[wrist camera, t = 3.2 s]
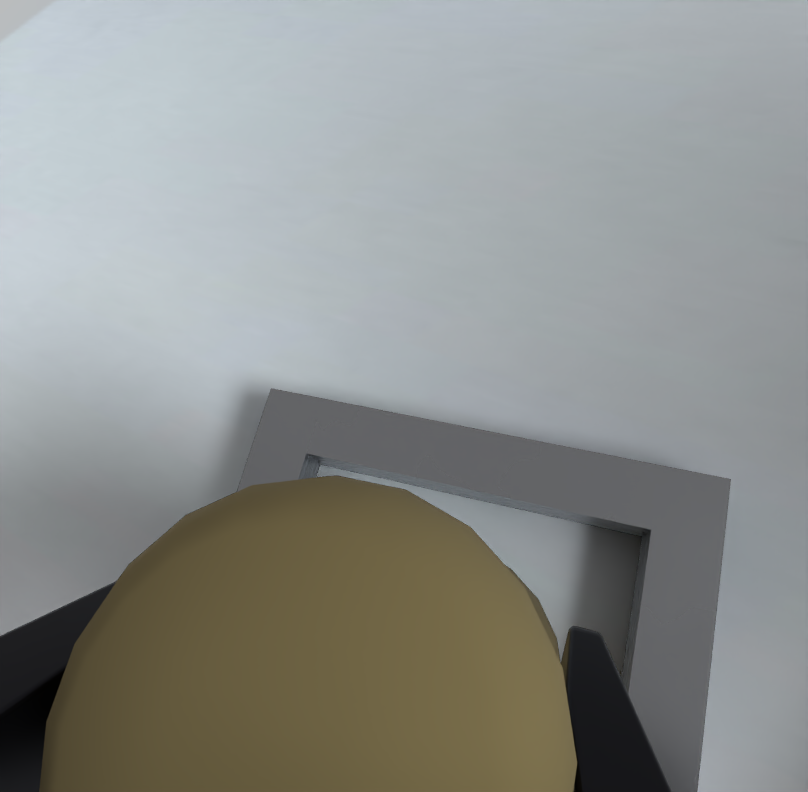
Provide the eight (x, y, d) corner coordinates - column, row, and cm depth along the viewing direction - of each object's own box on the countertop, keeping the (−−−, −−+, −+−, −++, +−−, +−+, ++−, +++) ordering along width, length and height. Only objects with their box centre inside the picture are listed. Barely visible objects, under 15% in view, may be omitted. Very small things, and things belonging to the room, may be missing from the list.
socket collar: (649, 1067, 12) (662, 1111, 11) (139, 855, 15) (109, 874, 14) (715, 489, 15) (730, 479, 14) (286, 403, 18) (270, 388, 17)
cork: (325, 533, 17) (18, 393, 7) (562, 547, 16) (638, 403, 5) (295, 798, 15) (-206, 1181, 5) (564, 835, 14) (684, 1451, 4)
